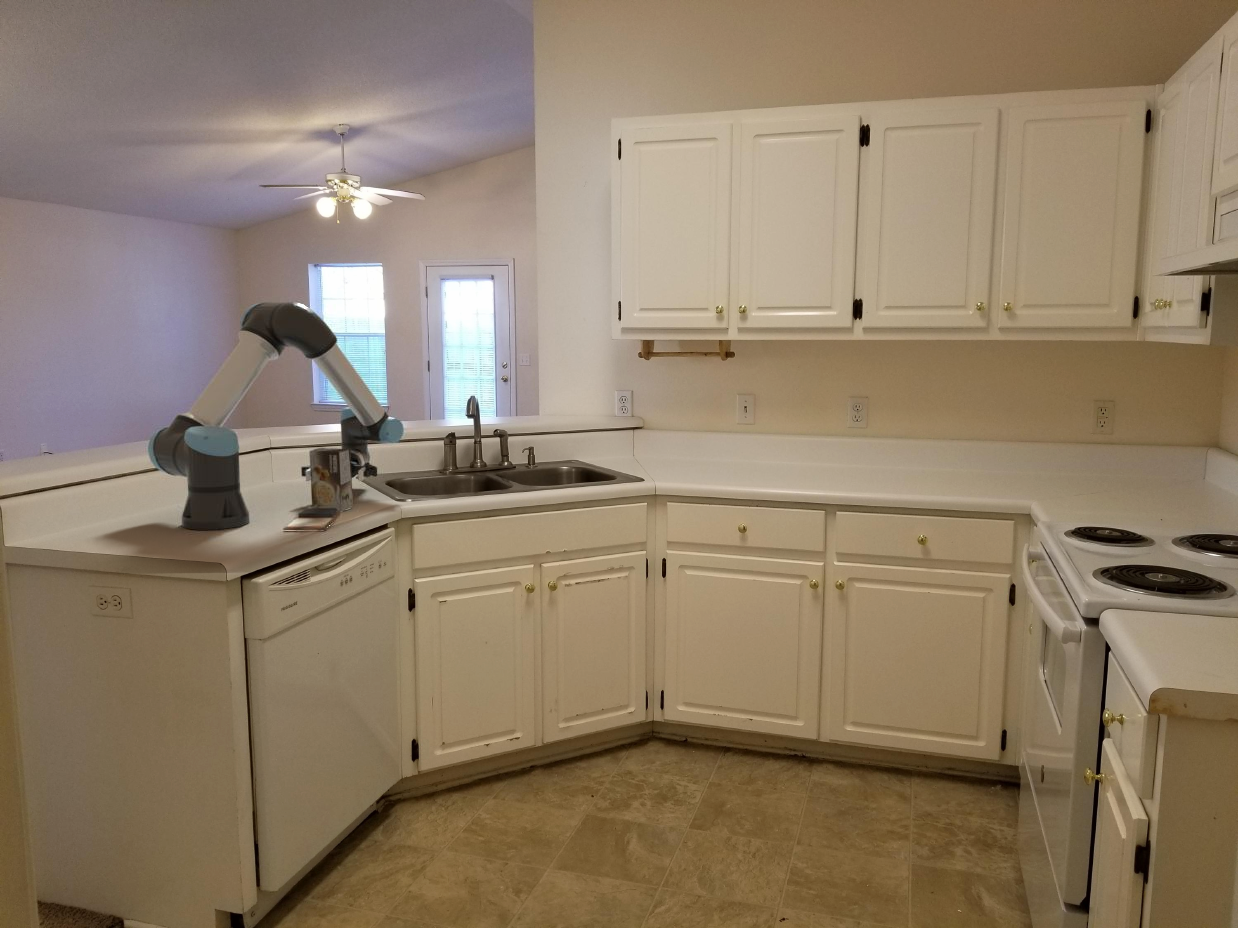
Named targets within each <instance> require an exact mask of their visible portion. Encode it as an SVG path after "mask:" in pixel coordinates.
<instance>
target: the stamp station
mask: <svg viewBox="0 0 1238 928" xmlns="http://www.w3.org/2000/svg"><path fill="white" fill-rule="evenodd" d="M341 513H342V512H340V511H337V508H312V507H310V508H308V507H307V508H306V507H305V508H303V509H302V510H301V511H300V512H299V513H298V515H297V516H296V517H295V518H294V519H293V520H291V521H290V522H289V523H287V524H286V525H285V526H284V527H283V528H282V529H283V530H326V529H327V527H329V525H331V524H332V523H333V522H334V521H335V520H336V519H337V518H338V517H339V516H340V515H342V514H341ZM340 517H341V516H340ZM340 517H339V518H340ZM339 518H338V519H339ZM338 519H337V520H338ZM337 520H336V521H337ZM336 521H335V522H336ZM333 524H334V523H333ZM333 524H332V525H333ZM329 528H330V527H329ZM283 530H282V531H283ZM327 530H328V529H327ZM327 530H326V531H327Z"/></svg>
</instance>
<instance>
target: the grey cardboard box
mask: <svg viewBox="0 0 1238 928" xmlns="http://www.w3.org/2000/svg"><path fill="white" fill-rule="evenodd" d="M309 466H310V474H311V480H310V491H311V492H310V494H311V508H337V512H340V511H343V512H345V511H348V510H350V509H349V508H351V509H353V508H354V502H353V478H352V471H351V449H342V448H335V447H334V448H333V447H332V448H330V447H319V448H315V449H311V450H309ZM352 507H353V508H352ZM347 509H348V510H347Z"/></svg>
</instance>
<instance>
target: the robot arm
mask: <svg viewBox="0 0 1238 928" xmlns="http://www.w3.org/2000/svg"><path fill="white" fill-rule="evenodd" d="M240 319H241V320H240V324H241V326H240V330H239V332H238V334H237V336H238V340H239V342H238V344H237V345H236V346H235V348H234V349H233V350H232V352H231V353H230V355H228V357H227V358H226V360H225V361H224V363H223V364H222V365H221V366H220V368H219V369H218V371H217V372H216V374H215V375H214V376H213V378H212V379H211V380H210V381H209V383H208V385H206V387H205V388H204V390H203V391H202V393H200V395H199V396H198V398H197V399H196V400H195V401H194V403H193V404H192V406H191V407H190V409H189V410H188V412H184V413H179V414H177V415H176V417H175V418H174V419H173V420H172V421H171V423H170V425H169V426H165V427H162V428H159V429H158V430H157V431H155V432H153V434H152V436H151V437H150V439H149V441H148V445H147V452H148V456H149V457H148V458H149V461H150V462H151V464H152V465H153V466H154V467H155V468H156V469H157V470H159V471H161V472H163V473H165V474H168V475H171V476H175V477H176V476H180V477H185V478H187V479H186V480H187V481H186V482H187V497H186V500H185V503H184V507H183V511H182V514H181V527H182V528H185V529H187V530H201V531H202V530H203V531H208V530H209V531H210V530H212V531H213V530H225V529H231V528H237V527H240V526H241V527H242V526H244V525H246V524H249V523H250V511H249V509H248V507H247V505H246V502H245V499H244V497H243V494H242V492H241V491H242V490H241V477H240V475H241V473H240V452H239V451H240V444H239V439H238V438H239V437H238V434H237V433H236V432H235V431H234V430H232V429H230V428H228V427H227V428H226V427H223V426H224V424H225V423H226V421H227V420H228V418H229V417H230V416H231V414H232V413H233V411H234V410H235V409H236V407H237V406H238V404H239V403H240V402H241V400H242V399H243V398H244V396H245V395H246V393H247V392H248V390H249V389H250V388H251V386H253V383H254V382H255V380H256V379H257V378H258V376H259V375H260V373H261V372H262V371H263V370H264V368H265V367H266V365H267V364H268V363H269V362H270V361H277V360H278V359H279V357H280V356H281V355H282V353H283V352H284V350H285V349H286V348H287V347H294V348H295V349H297V350H298V351H300V352H301V353H302V355H304V357H305V358H306V359H307V360H312V361H313V362H314V363H315V365H316V366H317V367H318V368H319V370H320V371H321V372H322V374H323V375H324V376H325V378H327V380H328V381H329V383H330V385H332V387H333V388H334V390H335V391H336V392H337V393H338V395H339V396H340V398H341V399H342V400H343V401H344V402H345V404H346V405H347V407H344V408H342V409H341V410H340V422H339V423H340V437H341V442H340V443H341V445H340V447H341V448H340V449H351V471H352V479H353V478H355V477H356V476H358V477H357V478H358V482H363V481H364V479H365V478H369V477H371V476H372V477H375V478H376V477H378V467H377V466H376V465H373V464H370V459H371V455H370V452H369V450H368V448H369V447H368V442H375V443H380V444H381V443H382V444H396V443H398V442H399V441H400V440H402V437H403V435H404V429H405V428H404V425H403V422H402V421H401V420H400V419H399V418H396V417H394V416H390V415H389V414H388V412H387V411H385V409H384V407H383V406H382V405H381V403H380V402H379V400H378V399H377V398H376V396H375V395H374V393H373V392H372V391H371V390H370V388H369V387H368V385H367V384H366V382H365V381H364V380H363V378H362V376H361V375H360V374H359V373H358V371H357V370H356V369H355V368H354V366H353V365H352V363H351V362H350V361H349V359H348V358H347V356H346V355H345V354H344V352H343V351H342V349H341V348H340V347H339V346H338V344H337V343H338V338H337V336H336V335H335V333H334V332H333V331H332V329H331V328H330V327H329V325H328V324H327V323H326V322H325V321H324V320H323V318H321V317H320V316H319V314H317V313H316V312H315V311H314V310H312V309H311V308H310V307H308V306H307V305H305V304H303V303H299V302H293V301H290V302H285V301H283V302H280V301H279V302H277V301H276V302H275V301H273V302H272V301H263V302H260V303H255V304H252V305H251V306H249V307H248V308H246V310H245V311H244V312H243V314H242V316H241V318H240ZM300 469H301V471H300V472H301V477H305V481H306V482H311V474H310V465H305V466H300Z"/></svg>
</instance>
